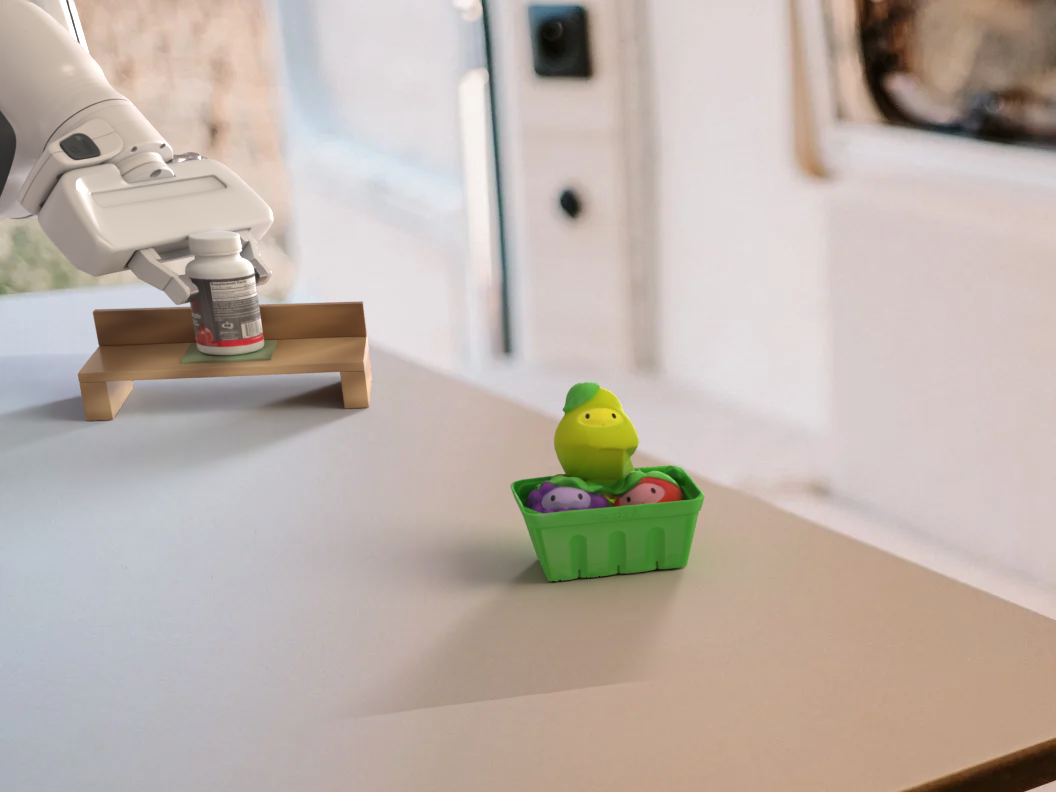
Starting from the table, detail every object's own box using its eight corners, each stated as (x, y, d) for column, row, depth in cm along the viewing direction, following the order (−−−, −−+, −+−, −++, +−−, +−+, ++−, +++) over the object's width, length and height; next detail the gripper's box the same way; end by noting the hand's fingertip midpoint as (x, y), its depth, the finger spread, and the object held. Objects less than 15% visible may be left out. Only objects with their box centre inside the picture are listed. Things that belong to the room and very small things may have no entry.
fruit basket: (530, 592, 100) (516, 415, 96) (512, 546, 108) (497, 380, 103) (710, 573, 104) (704, 402, 100) (680, 530, 112) (673, 369, 107)
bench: (86, 421, 132) (70, 336, 130) (108, 388, 142) (94, 309, 139) (369, 407, 139) (359, 326, 136) (372, 377, 148) (363, 301, 146)
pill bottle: (189, 347, 139) (170, 232, 135) (253, 340, 142) (236, 227, 139) (209, 359, 135) (190, 241, 132) (274, 351, 139) (258, 236, 135)
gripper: (189, 175, 146) (292, 292, 147) (-1, 203, 128) (118, 336, 129) (221, 126, 143) (327, 247, 144) (31, 148, 125) (153, 285, 126)
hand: (227, 290), depth 136 cm, fingers open, 7 cm apart
